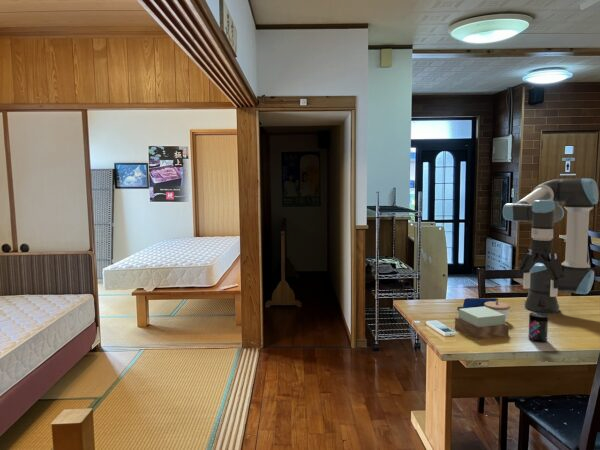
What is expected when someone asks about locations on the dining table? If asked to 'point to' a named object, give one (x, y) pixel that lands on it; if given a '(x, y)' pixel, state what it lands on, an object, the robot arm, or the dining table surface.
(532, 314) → the supplement container
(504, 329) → the walnut base block
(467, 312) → the sage top block
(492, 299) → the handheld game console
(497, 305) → the lidded jar
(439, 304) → the dining table surface
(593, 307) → the dining table surface
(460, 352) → the dining table surface
